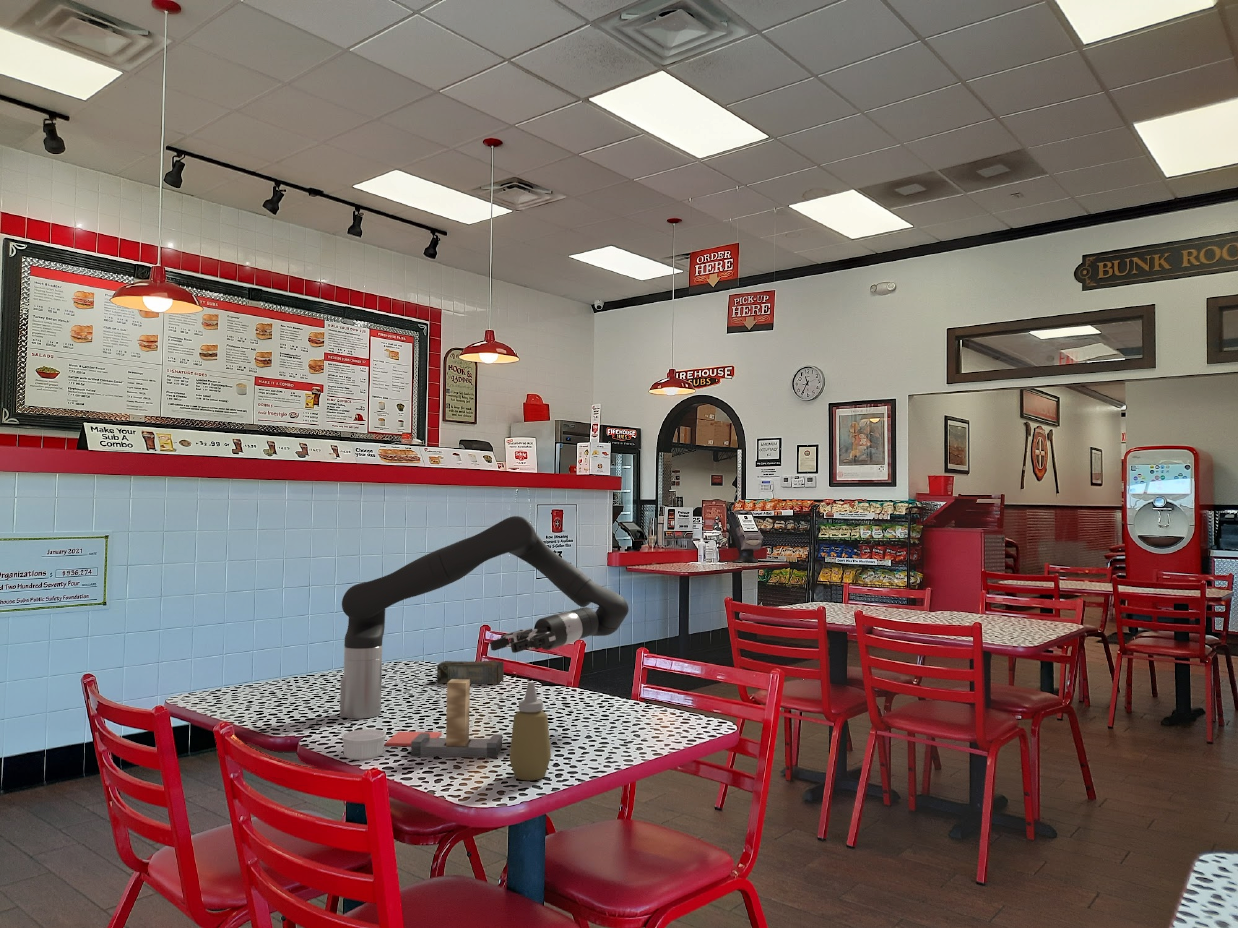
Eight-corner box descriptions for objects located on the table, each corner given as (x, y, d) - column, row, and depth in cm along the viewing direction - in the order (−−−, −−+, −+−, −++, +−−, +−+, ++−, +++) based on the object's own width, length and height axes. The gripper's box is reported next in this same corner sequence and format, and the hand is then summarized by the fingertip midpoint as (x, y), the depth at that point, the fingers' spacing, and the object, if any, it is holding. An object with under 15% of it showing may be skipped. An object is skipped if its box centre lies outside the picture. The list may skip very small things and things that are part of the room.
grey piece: (411, 755, 178) (411, 741, 178) (420, 746, 185) (420, 732, 185) (496, 757, 177) (496, 742, 177) (502, 748, 184) (502, 734, 184)
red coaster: (384, 745, 186) (385, 742, 186) (398, 733, 196) (398, 731, 196) (430, 746, 185) (430, 743, 185) (441, 734, 195) (441, 732, 195)
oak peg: (445, 754, 179) (447, 682, 180) (450, 749, 183) (451, 679, 184) (464, 754, 179) (465, 682, 180) (468, 749, 183) (469, 679, 184)
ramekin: (391, 756, 178) (391, 735, 178) (348, 763, 173) (348, 741, 173) (378, 747, 185) (378, 726, 185) (336, 753, 180) (337, 732, 181)
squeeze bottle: (544, 784, 160) (545, 687, 161) (503, 781, 161) (504, 685, 162) (555, 771, 167) (556, 679, 169) (516, 769, 169) (517, 677, 170)
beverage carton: (443, 679, 262) (444, 658, 263) (504, 681, 261) (505, 659, 261) (436, 684, 254) (436, 662, 255) (499, 686, 253) (499, 663, 253)
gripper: (538, 613, 206) (482, 629, 196) (574, 615, 196) (516, 631, 185) (543, 644, 206) (487, 661, 195) (579, 647, 196) (522, 665, 185)
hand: (501, 647), depth 190 cm, fingers open, 8 cm apart
